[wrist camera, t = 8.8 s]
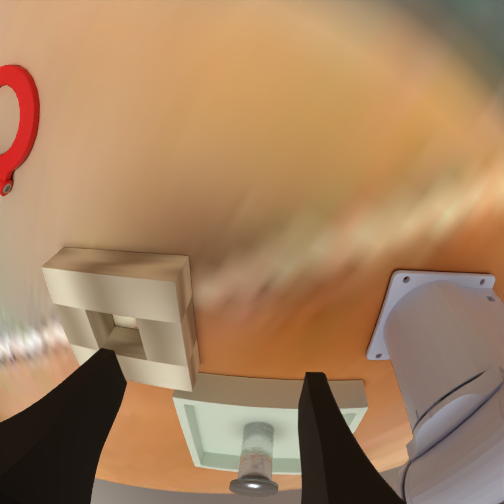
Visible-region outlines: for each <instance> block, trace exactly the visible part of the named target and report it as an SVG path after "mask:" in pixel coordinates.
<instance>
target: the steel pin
mask: <svg viewBox="0 0 504 504" xmlns="http://www.w3.org/2000/svg"><path fill="white" fill-rule="evenodd" d="M273 447H274V427H273V426H272V425H270V424H268V423H264V422H251V423H248V424H246V425H245V426H244V430H243V438H242V447H241V455H240V463H239V471H238V479H235V480H232V481H231V482H230V487H229V489H230V490H231V491H232V492H234V493H237V494H240V495H245V496H254V497H255V496H256V497H262V496H271V495H274V494H276V493H278V484H277V483H275V482H272V466H273Z"/></svg>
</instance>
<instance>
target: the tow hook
mask: <svg viewBox="0 0 504 504" xmlns="http://www.w3.org/2000/svg"><path fill="white" fill-rule="evenodd" d="M3 85H8V86H10V87H11V88H12V89H13V90H14V91H15V93H16V95H17V98H18V101H19V107H20V122H19V128H18V132H17V135H16V138H15V140H14V142H13V144H12V146H11V147H10V149H9V150H8V151H7V152H6V153H4V154H1V155H0V194H1V195H2V196H5V195H7V194H8V193H9V192H10V190H11V188H12V186H13V182H12V181H11V180H10V179H11V175H12V172H13V170H15V169H17V168H18V167H19V166H20V165H21V164H22V163H23V162H24V161H25V159H26V157H27V156H28V154H29V152H30V150H31V148H32V146H33V143H34V140H35V137H36V133H37V128H38V123H39V105H40V104H39V97H38V91H37V88H36V85H35V82H34V80H33V78H32V76H31V75H30V74H29V72H28V71H27V70H26V69H24V68H22V67H21V66H17V65H4V66H2V67H0V87H1V86H3Z"/></svg>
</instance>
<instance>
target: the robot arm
mask: <svg viewBox="0 0 504 504" xmlns="http://www.w3.org/2000/svg"><path fill="white" fill-rule="evenodd" d="M407 276H408V278H407V279H406V280H403V279H404V278H405V277H407ZM481 280H482V281H481ZM480 281H481V282H480ZM494 283H495V277H494V276H493V275H492V274H473V273H450V272H428V271H407V270H398V271H396V272H394V273H393V275H392V277H391V280H390V284H389V287H388V290H387V294H386V297H385V300H384V303H383V307H382V310H381V313H380V316H379V319H378V322H377V325H376V328H375V330H374V333H373V336H372V339H371V342H370V344H369V347H368V350H367V352H366V357H367V359H369V360H387V359H390V360H391V363H392V366H393V369H394V372H395V375H396V378H397V381H398V384H399V388H400V391H401V394H402V398H403V401H404V404H405V408H406V411H407V415H408V419H409V422H410V426H411V430H412V434H413V439H412V440H411V441H410V442H409V443H408V444H407V445H406V447H407V451H408V456H409V460H408V461H407V462H406V463H405V464H404V465H403V467H402V468H401V470H400V472H399V474H398V477H397V480H396V485H395V491H393V489H392V488H391V487H390V486H389V485H388V483H386V481H385V480H384V479H383V478H382V477H381V475H380V474H379V473H378V471H377V470H376V469H375V467H374V466H373V465H372V463H371V462H370V461H369V459H368V458H367V456H366V455H365V453H364V452H363V450H362V449H361V447H360V446H359V444H358V442H357V441H356V439H355V437H354V436H353V434H352V432H351V430H350V429H349V427H348V425H347V423H346V421H345V419H344V417H343V415H342V413H341V411H340V409H339V407H338V405H337V403H336V400H335V398H334V396H333V393H332V391H331V389H330V386H329V383H328V381H327V378H326V375H325V374H324V373H323V372H306V374H305V379H304V383H303V387H302V391H301V395H300V399H299V403H298V438H299V450H300V462H301V474H302V501H301V504H504V303H503V301H502V300H501V299H500V298H499V297H498V295H497V294H496V293H495V292H494V291H493V289H492V288H493V285H494ZM377 354H378V355H377ZM126 385H127V382H126V379H125V377H124V375H123V372H122V370H121V367H120V364H119V362H118V359H117V357H116V354H115V351H114V350H109V349H105V348H100V349H99V350H98V351H97V352H96V353H95V354H93V355H92V356H91V357H90V358H89V359H88V360H87V361H86V362H85V363H83V364H82V365H81V366H80V367H79V368H78V369H77V370H76V371H74V372H73V373H72V374H71V375H70V376H69V377H68V378H66V379H65V380H64V381H63V382H62V383H61V384H59V385H58V386H57V387H56V388H54V389H53V390H52V391H51V392H49V393H48V394H47V395H46V396H44V397H43V398H42V399H40V400H39V401H37V402H36V403H34V404H33V405H31V406H30V407H28V408H27V409H25V410H23V411H22V412H20V413H18V414H16V415H14V416H12V417H11V418H9V419H7V420H5V421H3V422H0V504H90V502H91V495H92V488H93V483H94V478H95V474H96V469H97V465H98V462H99V458H100V454H101V451H102V449H103V446H104V443H105V441H106V439H107V436H108V434H109V432H110V429H111V427H112V425H113V422H114V420H115V418H116V415H117V413H118V411H119V408H120V406H121V403H122V399H123V396H124V392H125V389H126Z"/></svg>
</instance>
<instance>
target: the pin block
mask: <svg viewBox="0 0 504 504" xmlns="http://www.w3.org/2000/svg"><path fill="white" fill-rule="evenodd" d="M41 268H42V271H43V274H44V278H45V281H46V284H47V287H48V290H49V292H50V295H51V298H52V301H53V303H54V306H55V309H56V311H57V314H58V317H59V319H60V322H61V324H62V326H63V329H64V331H65V334H66V336H67V338H68V340H69V343H70V345H71V347H72V349H73V352H74V354H75V356H76V358H77V360H78V362H79V364H80V366H81V365H82V364H83V363H85V362H86V361H87V360H88V359H89V358H90V357H91V356H92V355H93V354H95V353H96V352H97V351H98V350H99V349H100V348H105V349H109V350H114V351H115V354H116V357H117V359H118V362H119V364H120V367H121V370H122V372H123V375H124V377H125V379H126V380H129V381H134V382H138V383H143V384H148V385H154V386H159V387H165V388H170V389H176V390H183V391H190V392H193V389H194V385H195V381H196V377H197V374H198V370H199V366H200V358H199V351H198V343H197V334H196V326H195V317H194V307H193V297H192V287H191V276H190V264H189V256H183V255H168V254H153V253H139V252H124V251H110V250H96V249H82V248H69V247H64V248H62V249H61V250H60V251H59V252H58V253H57V254H56V255H54V256H53V257H52V258H51V259H50V260H49V261H48V262H46V263H45V264H44V265H43V266H42V267H41ZM112 314H114V315H121V316H127V317H134V318H136V321H137V325H138V328H139V330H135V329H129V328H123V327H117V326H115V324H114V321H113V317H112Z"/></svg>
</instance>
